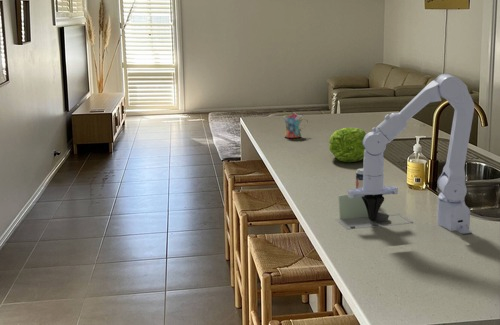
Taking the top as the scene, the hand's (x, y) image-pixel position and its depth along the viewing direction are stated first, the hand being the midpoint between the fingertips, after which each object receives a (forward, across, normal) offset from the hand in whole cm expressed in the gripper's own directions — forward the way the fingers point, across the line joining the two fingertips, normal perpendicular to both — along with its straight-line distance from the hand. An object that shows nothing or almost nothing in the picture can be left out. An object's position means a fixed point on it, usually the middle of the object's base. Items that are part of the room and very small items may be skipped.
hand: (372, 219), depth 188 cm
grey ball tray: (+2, -1, -1) cm, 3 cm away
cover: (-2, +3, -6) cm, 7 cm away
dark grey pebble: (+1, -3, -2) cm, 3 cm away
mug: (+3, -19, -138) cm, 140 cm away
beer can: (+3, -6, -21) cm, 22 cm away
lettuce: (+3, -26, -86) cm, 90 cm away
